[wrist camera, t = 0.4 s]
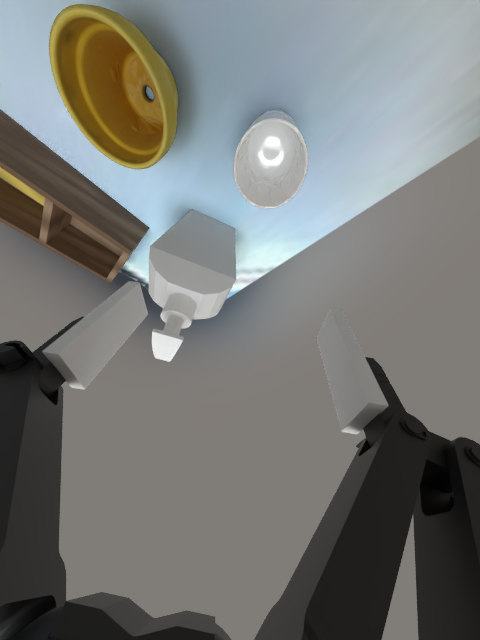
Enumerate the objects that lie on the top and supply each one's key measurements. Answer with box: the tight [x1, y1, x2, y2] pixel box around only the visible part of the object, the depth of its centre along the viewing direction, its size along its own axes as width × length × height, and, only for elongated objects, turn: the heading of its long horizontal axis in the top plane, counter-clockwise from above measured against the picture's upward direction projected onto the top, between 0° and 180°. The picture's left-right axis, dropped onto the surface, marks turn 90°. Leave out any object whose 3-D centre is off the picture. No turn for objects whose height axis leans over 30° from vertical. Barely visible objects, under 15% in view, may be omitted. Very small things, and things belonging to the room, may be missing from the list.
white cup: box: [233, 109, 308, 209], centre depth 24 cm, size 8×8×10 cm
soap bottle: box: [149, 209, 236, 361], centre depth 32 cm, size 12×10×26 cm
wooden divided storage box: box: [0, 110, 149, 283], centre depth 31 cm, size 13×36×8 cm, turn 44°
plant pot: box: [49, 4, 178, 169], centre depth 21 cm, size 10×10×10 cm
